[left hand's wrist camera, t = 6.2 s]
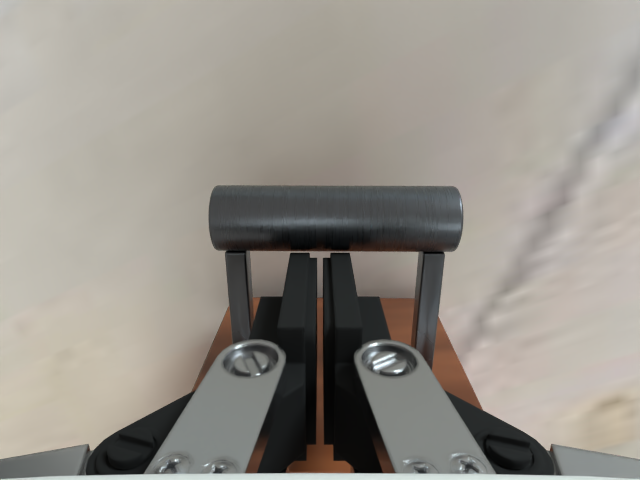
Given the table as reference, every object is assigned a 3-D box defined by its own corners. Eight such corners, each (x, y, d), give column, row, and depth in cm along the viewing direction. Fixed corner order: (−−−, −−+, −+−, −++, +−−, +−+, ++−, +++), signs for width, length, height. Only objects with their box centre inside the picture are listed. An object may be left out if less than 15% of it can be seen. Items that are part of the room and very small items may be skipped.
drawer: (220, 152, 17) (112, 224, 8) (444, 153, 16) (566, 227, 8) (252, 548, 24) (213, 792, 16) (404, 550, 24) (446, 797, 16)
